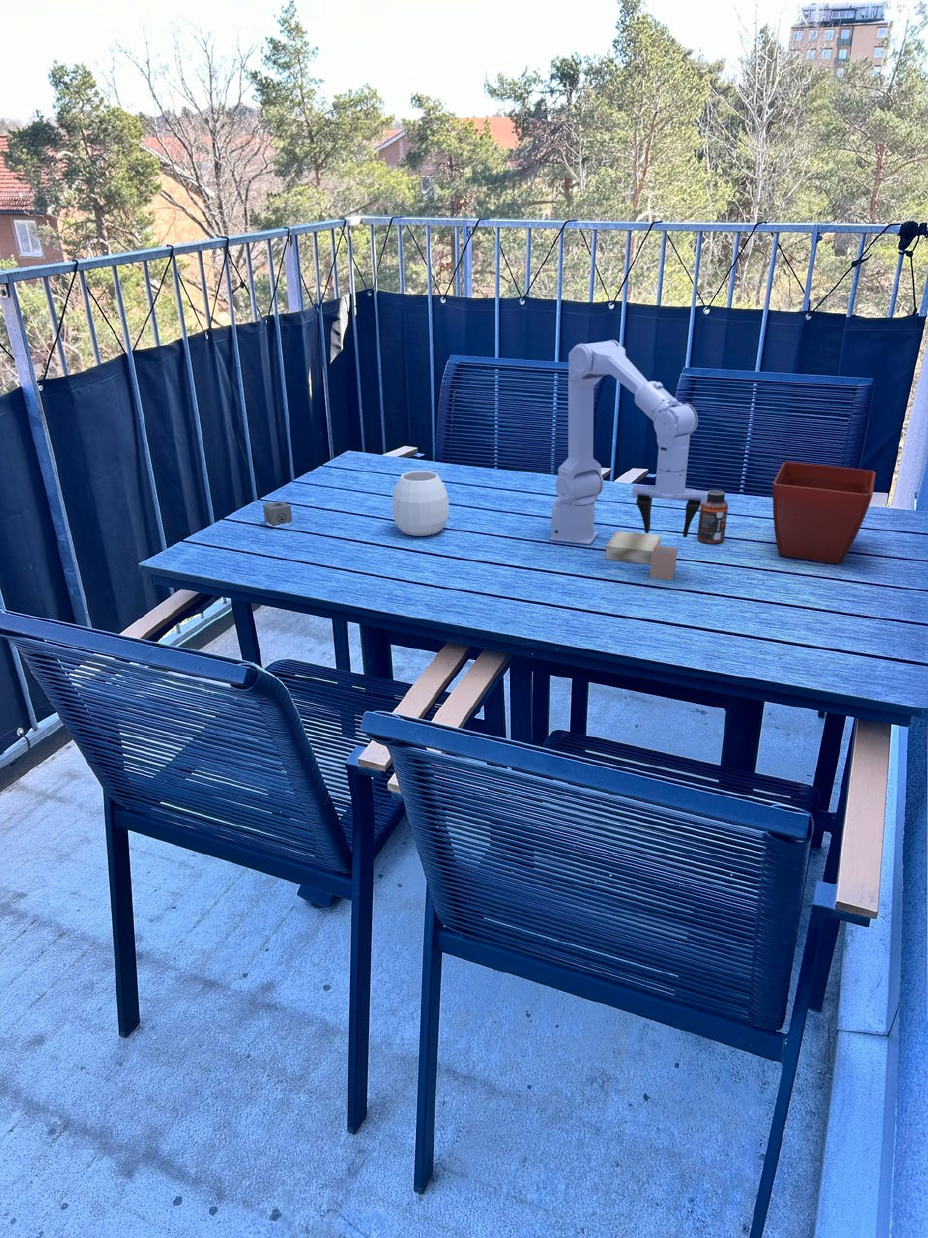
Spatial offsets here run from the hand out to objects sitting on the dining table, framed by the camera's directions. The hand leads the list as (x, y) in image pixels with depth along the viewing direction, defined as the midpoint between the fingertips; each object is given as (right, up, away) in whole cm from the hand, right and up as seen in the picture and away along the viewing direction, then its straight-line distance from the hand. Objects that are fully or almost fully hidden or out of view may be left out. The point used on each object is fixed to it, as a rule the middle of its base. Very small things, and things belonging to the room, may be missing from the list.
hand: (666, 533), depth 180 cm
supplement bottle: (+15, 0, +22) cm, 27 cm away
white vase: (-51, +3, +30) cm, 59 cm away
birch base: (-4, -3, +15) cm, 16 cm away
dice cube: (-86, +5, +36) cm, 93 cm away
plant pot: (+36, -3, +15) cm, 39 cm away
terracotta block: (0, -8, +4) cm, 9 cm away
